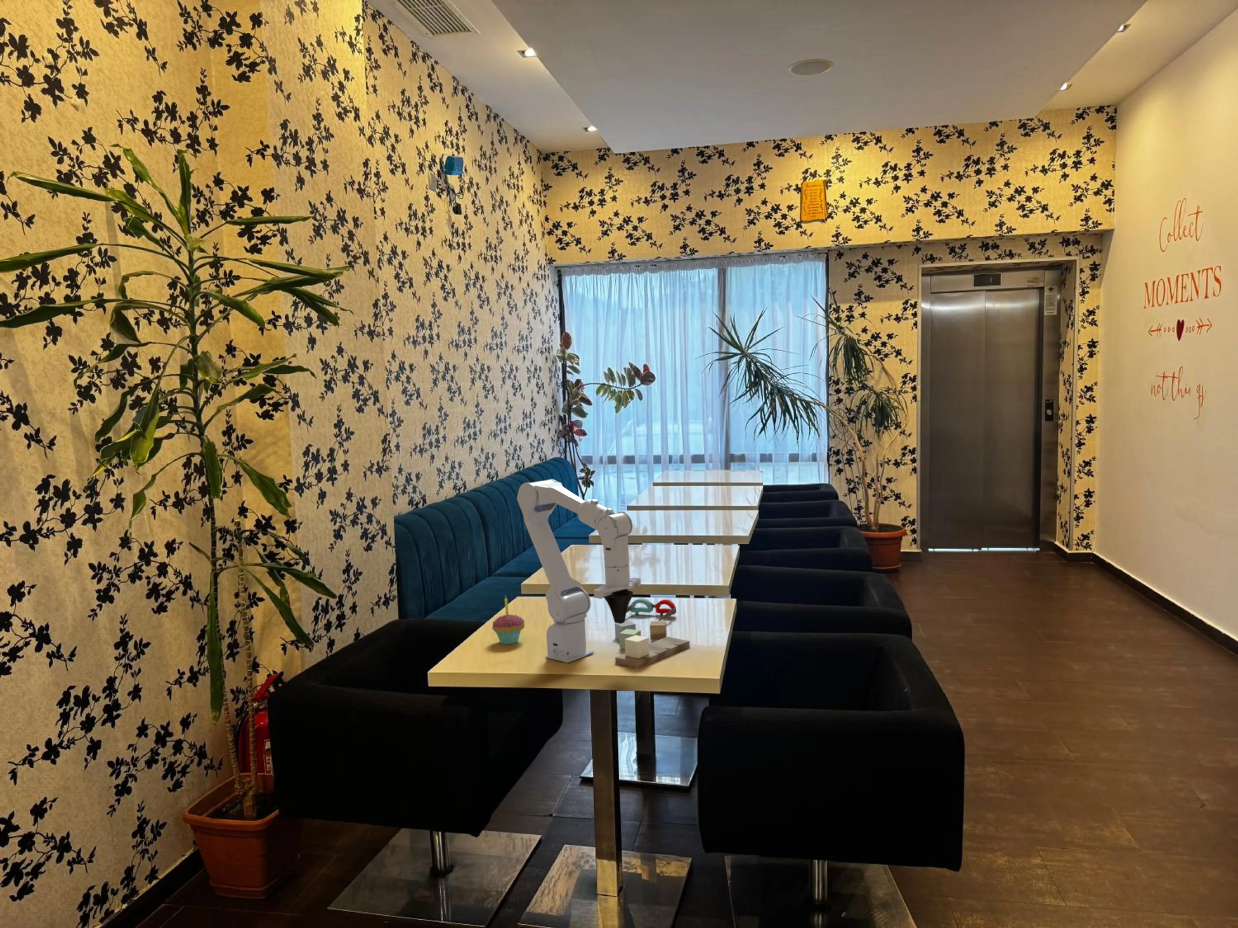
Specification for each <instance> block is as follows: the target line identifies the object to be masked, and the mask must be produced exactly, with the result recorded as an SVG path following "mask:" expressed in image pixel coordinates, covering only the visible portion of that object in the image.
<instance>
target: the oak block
mask: <svg viewBox="0 0 1238 928" xmlns="http://www.w3.org/2000/svg"><path fill="white" fill-rule="evenodd" d="M667 632H668V631H667V620H661V621H659V620H651V621H650V623H649V636H650V637H649V638H650V641H657V640H660V639H663V638H665V637H668V633H667Z"/></svg>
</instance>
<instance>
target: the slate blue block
mask: <svg viewBox="0 0 1238 928" xmlns="http://www.w3.org/2000/svg"><path fill="white" fill-rule="evenodd" d="M626 629H632V630H637V629H636V623H634V622H632V621H629V620H625V622H624V623H622V624H619V623H615V622H614V635H615V639H617V640H619V641H620V634H619V633H621V632H622V631H624V630H626Z"/></svg>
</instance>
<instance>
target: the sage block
mask: <svg viewBox="0 0 1238 928" xmlns="http://www.w3.org/2000/svg"><path fill="white" fill-rule="evenodd" d="M619 634H620V640H619V649H621V650H625V639H627V638H629V637H632V636H635V635H638V636H642V631H641V629H636V630H632V629H626V630H624V631H622V632H621V633H619Z"/></svg>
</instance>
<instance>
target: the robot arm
mask: <svg viewBox="0 0 1238 928" xmlns="http://www.w3.org/2000/svg"><path fill="white" fill-rule="evenodd" d="M516 501H517V503H518V505H519V508H520V510H521V513H522V515H523V521H524V522H523V523H524V524H525V526H526V529H527V531H528V534H529V537H530V539H531V542H532V543H533V544H532V545H533V546H534V548H535V551H536V554H537V556H538V558H539V562H540V563H541V566H542V568H543V569H542V570H543V571H544V573H545V576H546V579H547V581H548V584H549V589H548V590H547V592H546V594H545V600H546V602H547V609H548V610H547V611H548V613H549V616H550V618H551V619H552V621H553V624H552V625H549V626H548V628H547V629H546V650H547V654H545V657H544V658H547V659H551V660H556V661H559V662H563V663H568V664H569V663H571V662H573V661H577V660H578V659H579V660H580V659H581V658H585V657H587V656H589V655H592V654H594V653H595V651H594V650H591V649H589V648H588V649H587V637H586V636H587V634H586V618H587V617H588V615H587V613H588V612H589V611H590V609H591V607H592V602H591V601H592V600H591V597H590V595H589V594H588V592H587V591H586V590H585V589H584V588H583V586H582V585H583V584H581V582H580V581H579V580H577V579H576V578H575V579H574V578H573V577H571V574H570V572H569V570H568V568H567V565H566V562H565V560H564V558H563V555H562V552H561V550H560V548H559V546H558V545H559V544H558V542H557V540H556V537H555V535H554V533H553V531H552V528H551V526H550V524H549V521H548V520H549V517H550V515H551V514H552V513H553V511H554V510H555V508H556V506H557V505H559V506H560V507H563V508H565V509H567V510H569V511H571V512H573V513H575V514H577V518H578V520H579V521H580V522H582V523H583V524H585V525H587V526H589V527H590V528H592V529H594V530H596V531H597V533H598V535H599V537H600V541H601V545H602V547H603V558H604V559H603V560H604V577H605V579H604V580H605V581H604V582H605V583H604V584H603V585H601V586H599V587H598V588H595V589H593V598H595V599H599V600H601V599H604V601H606V603H607V605H608V607H609V609H610V612H611V615H612V618H613V621H614V624H615V623H619V624H622V623H624V622H625V621H626V618H627V613H628V612H627V609H628V607H629V606H630V603H631V600H632V598H633V597H634V592H633V590H632V591H631V589H633V588H635V587H638V588H639V587H641V586H642V585H641V583H642V579H641V577H636V576H635V577H631V576H630V556H629V555H630V554H629V535H630V534H631V533H632V530H633V521H632V519H631V517H630V516H629V515H628V514H627V512H625V511H618V512H615V511H614V510H613V509H612V508H611V507H606V506H604V505H602V504H601V503H599V500H598V499H596V498H593V499H587V500H583V499H582V498H580V497H579V496H578V495H576V494H574V493H573V492H571V491H570V490H569V489H567V488H566V487H564V486H563V484H562V482H559V481H557V480H555V479H553V478H550V479H547V480H546V479H545V480H540V481H534V482H524V483H522V484H521V485H520V487H519V489H518V493H517V496H516Z"/></svg>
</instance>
